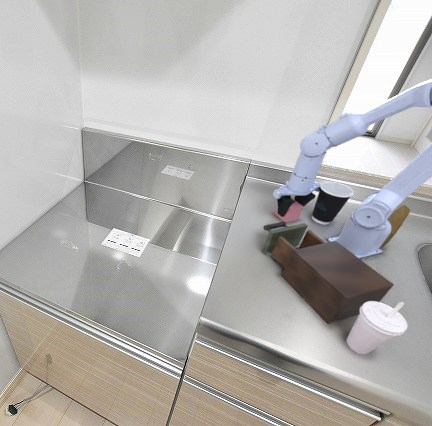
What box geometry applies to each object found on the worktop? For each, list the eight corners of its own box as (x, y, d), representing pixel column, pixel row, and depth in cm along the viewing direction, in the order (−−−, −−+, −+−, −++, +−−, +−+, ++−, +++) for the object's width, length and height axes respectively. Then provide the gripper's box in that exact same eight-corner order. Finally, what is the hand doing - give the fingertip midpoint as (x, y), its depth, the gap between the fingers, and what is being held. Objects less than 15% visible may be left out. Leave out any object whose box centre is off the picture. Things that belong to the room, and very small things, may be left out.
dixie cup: (338, 217, 89) (355, 186, 82) (334, 231, 84) (352, 199, 77) (308, 208, 93) (323, 178, 86) (303, 221, 88) (318, 190, 81)
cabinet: (281, 275, 71) (293, 250, 66) (320, 265, 73) (335, 240, 68) (327, 324, 60) (346, 298, 55) (372, 310, 63) (394, 284, 58)
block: (286, 211, 92) (292, 198, 89) (297, 220, 88) (303, 206, 85) (274, 214, 91) (279, 200, 88) (285, 222, 87) (290, 209, 84)
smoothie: (364, 367, 53) (408, 323, 45) (330, 337, 58) (365, 292, 50) (386, 353, 55) (432, 308, 47) (352, 325, 60) (389, 280, 52)
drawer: (252, 239, 80) (258, 220, 76) (284, 232, 82) (292, 213, 78) (297, 286, 67) (309, 265, 63) (334, 276, 69) (347, 256, 65)
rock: (396, 250, 74) (419, 233, 77) (385, 219, 73) (409, 203, 76) (350, 247, 84) (372, 232, 87) (340, 220, 84) (363, 206, 86)
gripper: (314, 163, 85) (297, 202, 93) (271, 171, 82) (258, 210, 90) (335, 175, 80) (315, 214, 88) (290, 183, 77) (274, 223, 85)
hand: (287, 213), depth 89 cm, fingers closed on block, 4 cm apart
